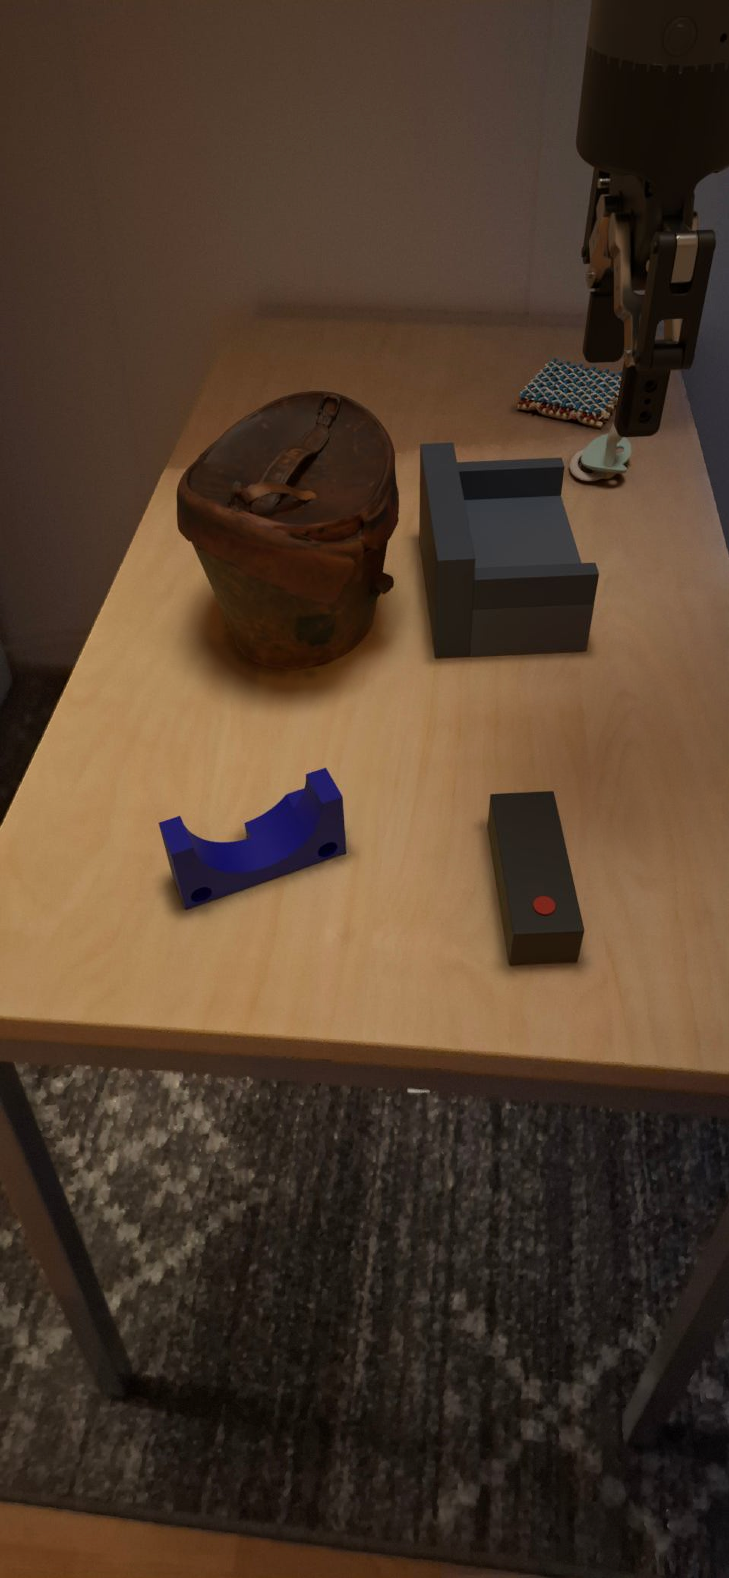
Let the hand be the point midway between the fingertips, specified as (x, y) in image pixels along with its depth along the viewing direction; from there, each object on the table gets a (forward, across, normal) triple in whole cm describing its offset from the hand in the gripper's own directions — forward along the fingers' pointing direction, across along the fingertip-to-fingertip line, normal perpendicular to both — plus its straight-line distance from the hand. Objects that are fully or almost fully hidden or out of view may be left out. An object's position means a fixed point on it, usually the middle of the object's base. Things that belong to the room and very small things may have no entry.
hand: (617, 394), depth 57 cm
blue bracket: (+31, -6, +22) cm, 39 cm away
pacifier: (+30, +44, -12) cm, 54 cm away
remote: (+30, -10, +4) cm, 32 cm away
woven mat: (+30, +58, -12) cm, 67 cm away
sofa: (+30, +24, +1) cm, 39 cm away
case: (+31, +20, +19) cm, 41 cm away
